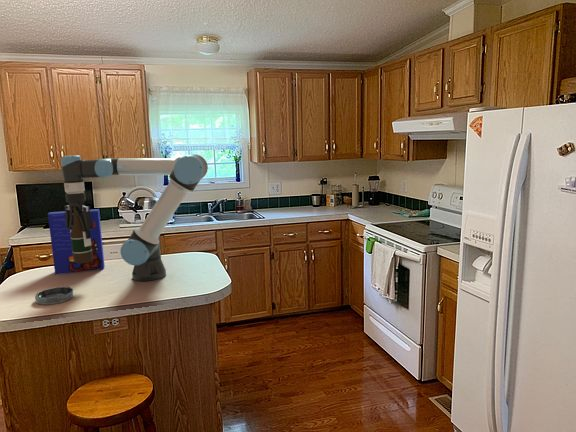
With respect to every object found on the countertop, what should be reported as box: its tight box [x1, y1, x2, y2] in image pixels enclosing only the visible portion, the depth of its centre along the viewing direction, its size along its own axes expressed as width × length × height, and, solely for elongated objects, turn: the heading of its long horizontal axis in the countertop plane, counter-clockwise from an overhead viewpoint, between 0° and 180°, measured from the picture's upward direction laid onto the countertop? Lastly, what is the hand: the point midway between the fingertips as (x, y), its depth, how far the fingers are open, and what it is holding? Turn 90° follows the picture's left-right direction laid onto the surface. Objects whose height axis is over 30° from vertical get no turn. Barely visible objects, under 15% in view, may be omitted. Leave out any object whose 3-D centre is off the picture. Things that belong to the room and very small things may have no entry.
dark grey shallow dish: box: [34, 286, 74, 306], centre depth 173 cm, size 13×13×3 cm
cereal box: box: [47, 208, 105, 275], centre depth 210 cm, size 22×6×30 cm, turn 109°
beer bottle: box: [70, 207, 93, 263], centre depth 182 cm, size 8×8×24 cm
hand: (81, 244), depth 183 cm, fingers closed on beer bottle, 8 cm apart
